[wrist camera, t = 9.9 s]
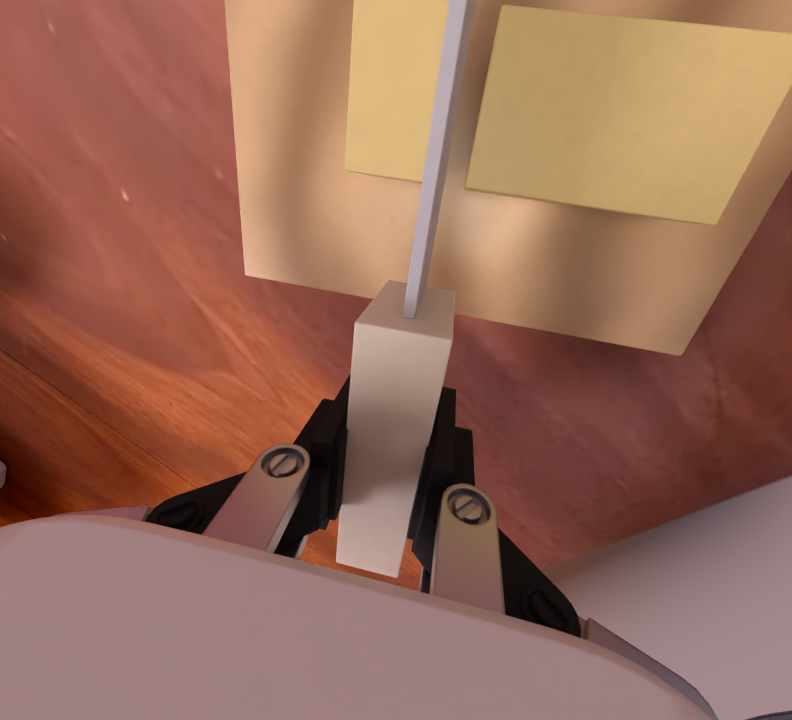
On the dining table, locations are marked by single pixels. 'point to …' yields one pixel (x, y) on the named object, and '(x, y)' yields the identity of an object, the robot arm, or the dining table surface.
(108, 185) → the dining table surface
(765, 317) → the dining table surface
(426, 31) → the butter slice
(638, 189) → the butter
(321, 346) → the dining table surface
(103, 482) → the dining table surface
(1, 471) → the bowl
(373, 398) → the knife
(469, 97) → the board
